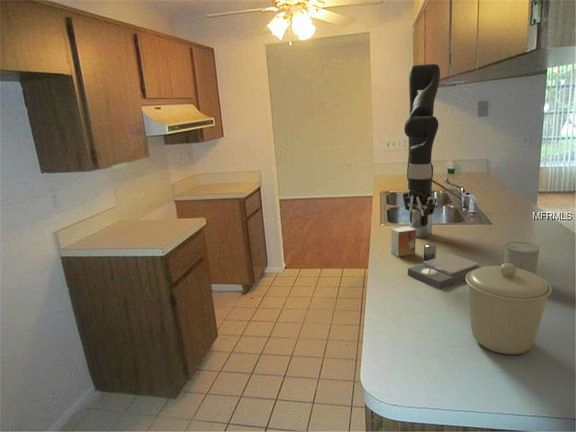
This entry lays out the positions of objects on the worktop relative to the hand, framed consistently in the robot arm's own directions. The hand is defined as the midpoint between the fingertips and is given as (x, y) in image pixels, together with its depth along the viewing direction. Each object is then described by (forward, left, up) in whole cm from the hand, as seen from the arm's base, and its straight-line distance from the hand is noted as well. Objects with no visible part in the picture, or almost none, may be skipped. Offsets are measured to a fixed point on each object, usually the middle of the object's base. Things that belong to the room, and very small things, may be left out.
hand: (418, 223), depth 139 cm
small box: (-8, -15, -18) cm, 25 cm away
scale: (-5, +8, -17) cm, 20 cm away
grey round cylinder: (-19, +26, -18) cm, 37 cm away
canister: (+17, +44, -18) cm, 51 cm away
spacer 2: (-11, -4, -18) cm, 21 cm away
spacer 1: (0, 0, -1) cm, 1 cm away
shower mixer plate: (-8, +8, -15) cm, 19 cm away
